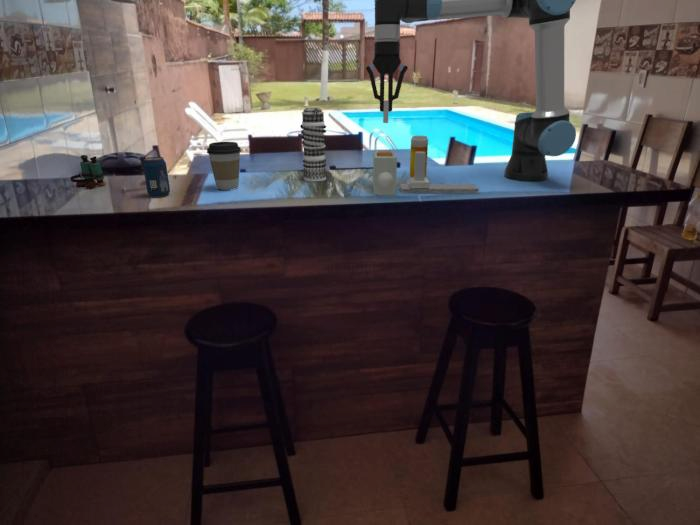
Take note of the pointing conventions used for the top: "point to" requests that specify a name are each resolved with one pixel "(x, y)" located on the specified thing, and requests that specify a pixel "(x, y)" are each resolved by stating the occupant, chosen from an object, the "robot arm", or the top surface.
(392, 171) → the white block
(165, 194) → the soda can
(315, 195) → the top surface
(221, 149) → the coffee cup
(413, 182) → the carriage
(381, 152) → the button
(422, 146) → the beer can
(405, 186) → the rail
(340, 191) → the top surface
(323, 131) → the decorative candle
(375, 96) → the robot arm
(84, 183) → the binoculars
